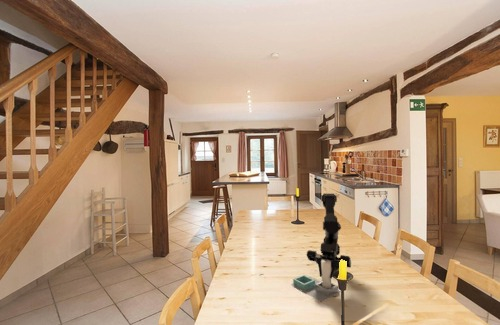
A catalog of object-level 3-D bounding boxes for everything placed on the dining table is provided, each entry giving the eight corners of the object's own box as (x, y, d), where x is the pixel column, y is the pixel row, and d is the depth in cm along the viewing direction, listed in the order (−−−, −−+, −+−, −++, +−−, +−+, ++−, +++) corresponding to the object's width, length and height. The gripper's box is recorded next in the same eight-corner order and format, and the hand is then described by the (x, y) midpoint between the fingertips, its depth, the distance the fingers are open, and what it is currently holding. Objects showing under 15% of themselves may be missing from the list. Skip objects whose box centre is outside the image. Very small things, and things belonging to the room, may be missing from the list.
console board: (290, 286, 121) (290, 284, 121) (310, 277, 129) (310, 276, 129) (321, 303, 107) (321, 301, 107) (341, 293, 114) (341, 291, 114)
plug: (319, 290, 115) (319, 261, 115) (326, 287, 118) (325, 258, 117) (327, 294, 112) (326, 264, 112) (333, 291, 114) (332, 261, 114)
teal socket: (293, 284, 121) (293, 278, 121) (304, 279, 125) (303, 274, 125) (304, 290, 116) (304, 284, 116) (315, 285, 120) (315, 280, 119)
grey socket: (315, 290, 116) (315, 284, 116) (325, 285, 120) (325, 279, 120) (327, 296, 110) (327, 290, 110) (338, 291, 114) (338, 285, 114)
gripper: (307, 232, 122) (300, 265, 113) (349, 238, 113) (346, 274, 104) (312, 244, 129) (306, 275, 120) (352, 250, 120) (349, 284, 111)
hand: (325, 277), depth 113 cm, fingers closed on plug, 4 cm apart
